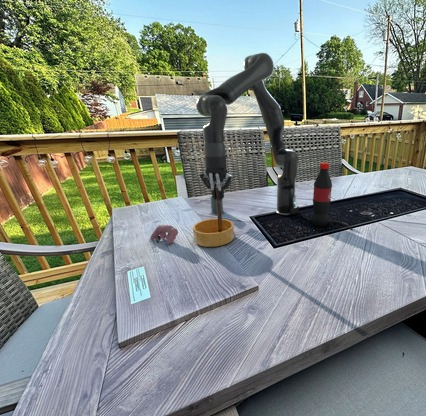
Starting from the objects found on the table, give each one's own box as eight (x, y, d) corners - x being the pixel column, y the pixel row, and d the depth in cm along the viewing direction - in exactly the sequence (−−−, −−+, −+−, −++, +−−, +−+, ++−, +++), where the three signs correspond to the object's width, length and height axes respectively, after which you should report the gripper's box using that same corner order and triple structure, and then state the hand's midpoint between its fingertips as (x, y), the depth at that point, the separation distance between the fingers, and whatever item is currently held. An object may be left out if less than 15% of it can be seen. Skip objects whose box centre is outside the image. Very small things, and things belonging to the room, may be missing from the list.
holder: (225, 212, 136) (224, 195, 133) (219, 216, 131) (218, 198, 128) (215, 211, 137) (214, 194, 134) (209, 214, 132) (208, 197, 129)
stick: (223, 233, 107) (220, 186, 101) (221, 235, 106) (218, 187, 99) (219, 232, 108) (216, 186, 101) (218, 234, 106) (214, 187, 99)
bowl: (240, 233, 113) (239, 220, 111) (223, 250, 99) (222, 236, 97) (207, 229, 115) (206, 216, 113) (186, 245, 101) (184, 231, 99)
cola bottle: (330, 223, 129) (336, 162, 119) (324, 229, 122) (330, 165, 112) (315, 220, 132) (319, 160, 122) (308, 225, 125) (312, 163, 115)
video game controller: (177, 244, 104) (181, 227, 105) (168, 244, 100) (172, 226, 100) (157, 240, 107) (162, 223, 108) (148, 239, 103) (152, 222, 103)
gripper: (237, 154, 98) (238, 198, 104) (203, 151, 100) (207, 194, 106) (228, 157, 91) (230, 203, 97) (192, 154, 93) (196, 200, 99)
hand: (218, 199), depth 102 cm, fingers closed on stick, 1 cm apart
